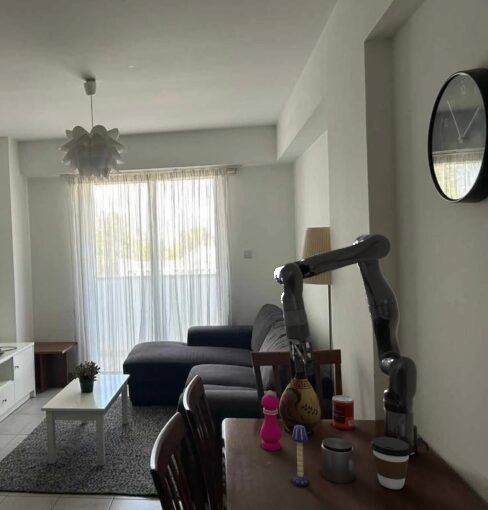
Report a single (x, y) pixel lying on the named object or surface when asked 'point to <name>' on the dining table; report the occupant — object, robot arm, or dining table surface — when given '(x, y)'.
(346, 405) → the canned food
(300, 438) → the toy lamp
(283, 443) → the dining table surface
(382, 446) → the coffee cup
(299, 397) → the ceramic jug
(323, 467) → the grey metal canister
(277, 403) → the pepper mill
